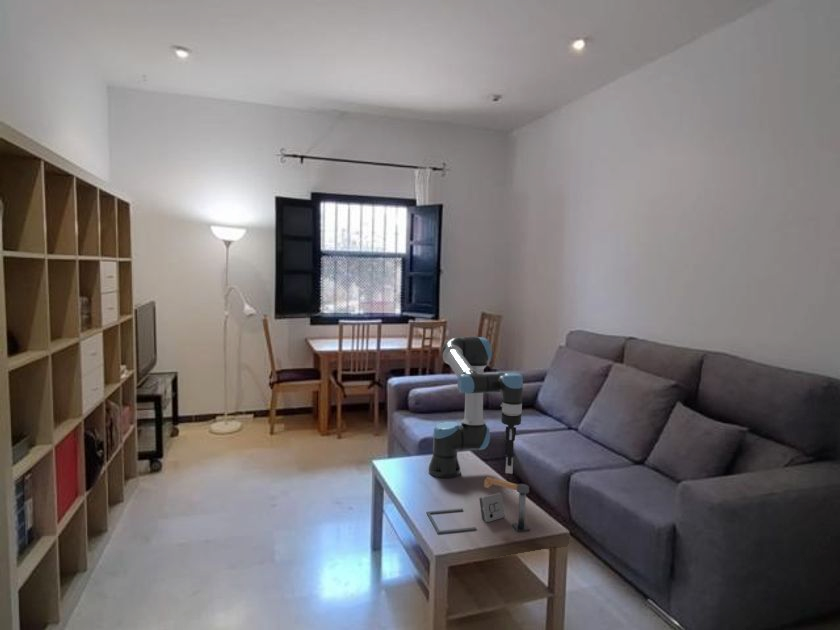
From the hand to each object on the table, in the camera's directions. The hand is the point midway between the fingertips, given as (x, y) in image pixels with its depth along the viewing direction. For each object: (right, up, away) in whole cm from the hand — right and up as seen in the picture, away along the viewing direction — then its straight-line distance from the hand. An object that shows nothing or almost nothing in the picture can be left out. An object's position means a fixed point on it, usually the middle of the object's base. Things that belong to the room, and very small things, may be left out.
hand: (508, 472), depth 195 cm
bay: (-23, -18, -4) cm, 29 cm away
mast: (+3, -19, -7) cm, 20 cm away
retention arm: (-2, -5, -5) cm, 8 cm away
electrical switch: (-7, -18, 0) cm, 19 cm away
